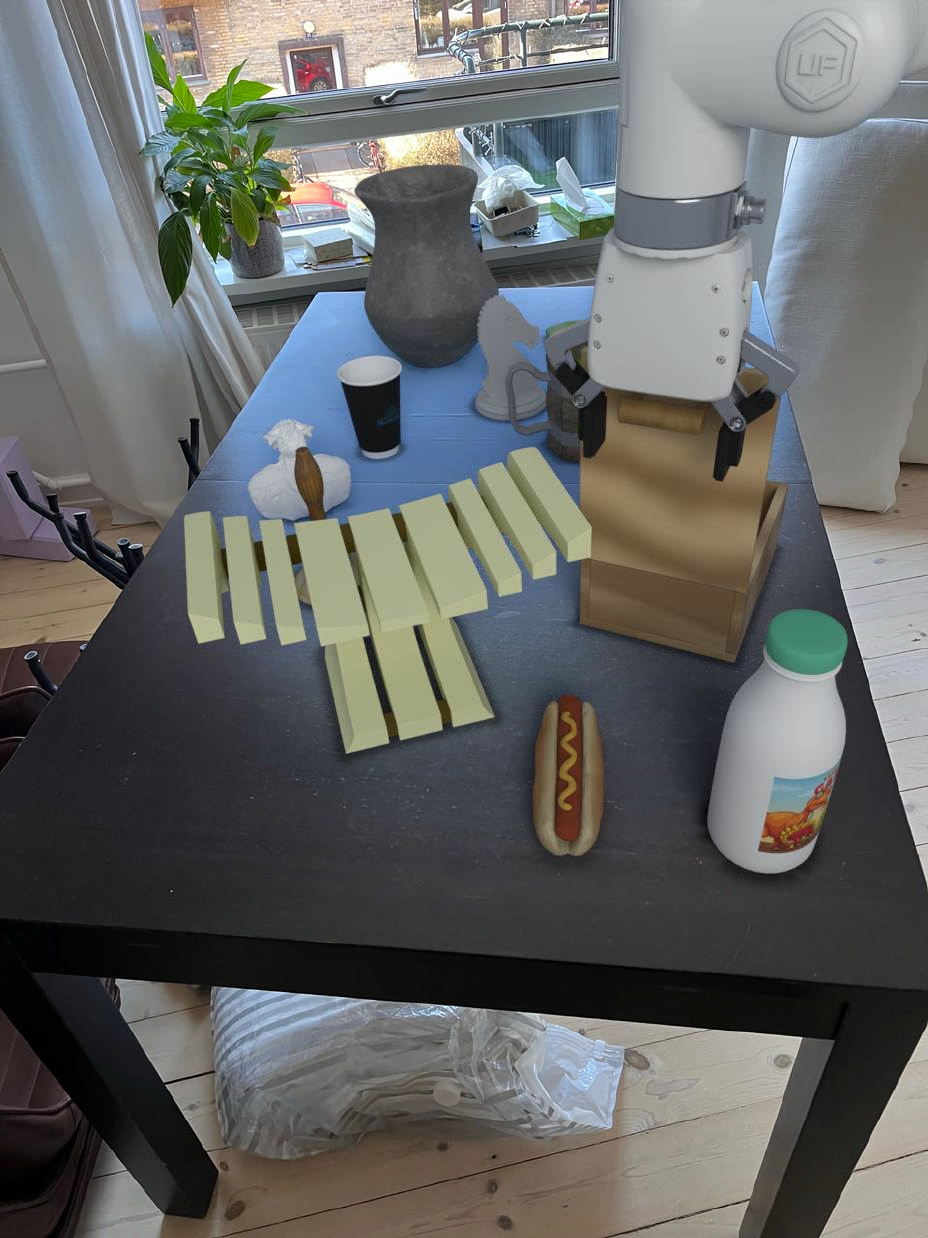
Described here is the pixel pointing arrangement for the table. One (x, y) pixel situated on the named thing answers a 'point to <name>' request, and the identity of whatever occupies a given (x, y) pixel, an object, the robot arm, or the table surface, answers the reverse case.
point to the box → (681, 597)
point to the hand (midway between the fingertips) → (656, 460)
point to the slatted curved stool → (390, 588)
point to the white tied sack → (277, 481)
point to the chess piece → (506, 361)
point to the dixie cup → (374, 403)
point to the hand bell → (312, 507)
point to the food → (568, 778)
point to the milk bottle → (781, 747)
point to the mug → (551, 409)
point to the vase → (425, 263)
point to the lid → (676, 487)
